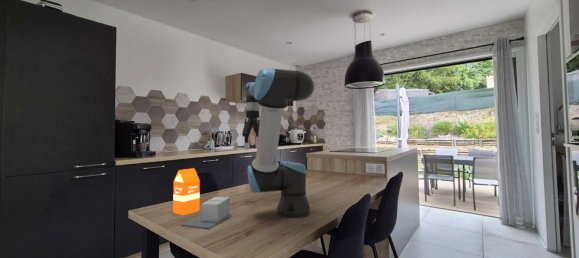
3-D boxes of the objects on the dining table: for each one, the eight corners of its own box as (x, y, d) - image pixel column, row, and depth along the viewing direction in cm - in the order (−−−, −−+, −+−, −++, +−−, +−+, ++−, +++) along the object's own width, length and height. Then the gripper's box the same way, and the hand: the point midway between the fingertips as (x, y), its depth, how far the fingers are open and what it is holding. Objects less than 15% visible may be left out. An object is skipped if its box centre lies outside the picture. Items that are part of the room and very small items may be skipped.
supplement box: (230, 196, 112) (218, 204, 99) (230, 213, 112) (218, 223, 99) (214, 196, 113) (201, 203, 100) (214, 212, 113) (200, 221, 100)
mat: (206, 214, 113) (206, 212, 113) (231, 216, 109) (231, 215, 109) (180, 225, 98) (180, 224, 98) (208, 229, 94) (208, 227, 94)
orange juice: (199, 210, 119) (199, 168, 120) (183, 215, 111) (183, 170, 112) (189, 208, 123) (189, 167, 124) (172, 212, 115) (173, 169, 116)
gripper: (256, 113, 152) (256, 147, 151) (235, 108, 129) (235, 149, 128) (267, 112, 150) (267, 147, 149) (248, 107, 126) (248, 149, 125)
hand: (252, 148), depth 138 cm, fingers open, 13 cm apart
